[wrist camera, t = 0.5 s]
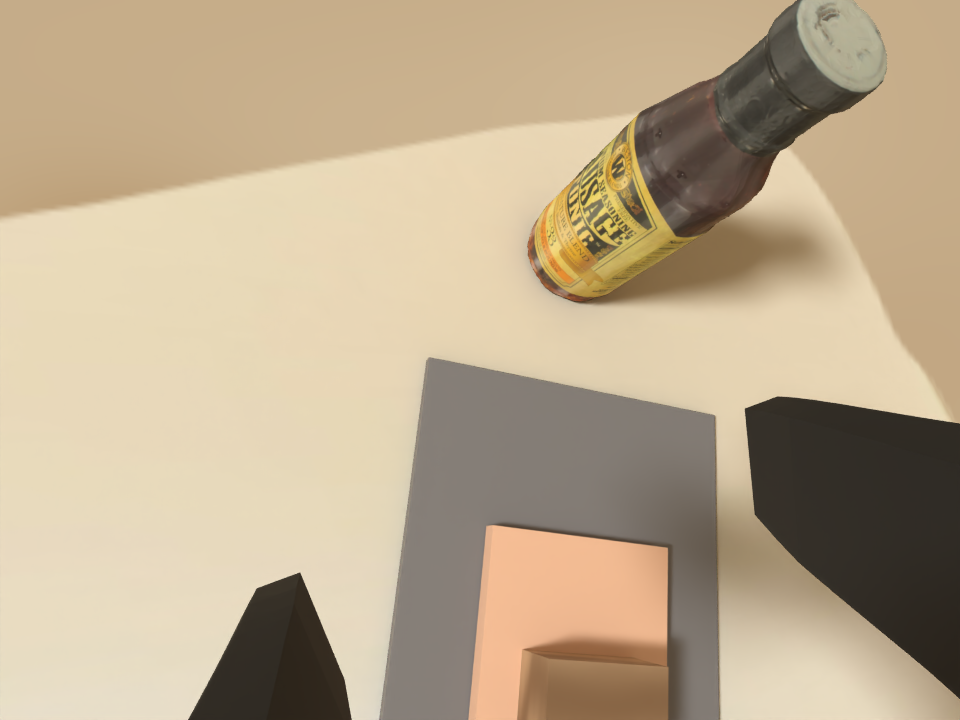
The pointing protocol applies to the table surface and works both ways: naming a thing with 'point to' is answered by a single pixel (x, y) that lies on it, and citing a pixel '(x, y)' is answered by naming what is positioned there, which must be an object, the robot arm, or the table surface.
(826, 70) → the sauce bottle
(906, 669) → the table surface
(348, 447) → the table surface
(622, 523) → the mat
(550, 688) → the peach square slab
